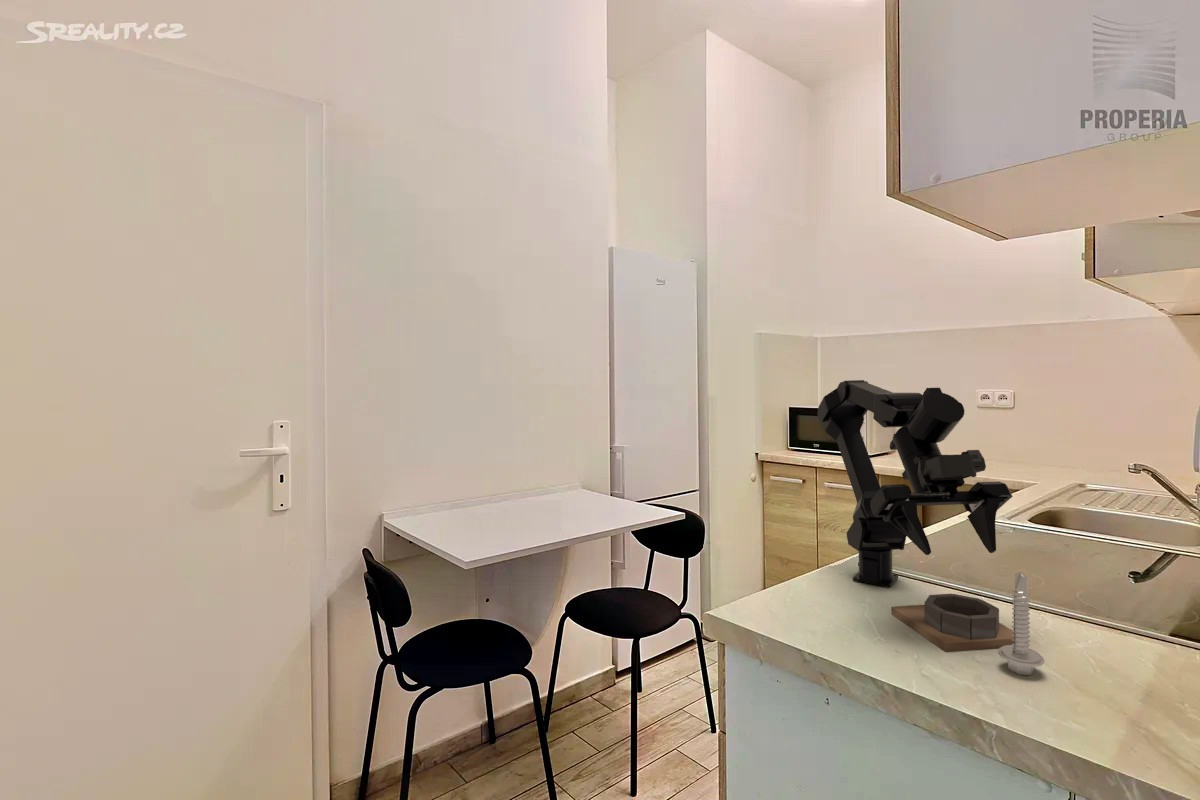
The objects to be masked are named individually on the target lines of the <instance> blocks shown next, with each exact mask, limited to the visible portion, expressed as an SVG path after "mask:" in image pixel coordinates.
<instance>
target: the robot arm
mask: <svg viewBox="0 0 1200 800" xmlns="http://www.w3.org/2000/svg"><path fill="white" fill-rule="evenodd" d="M868 411H869V412H871V413H873V420H874V421H875V422H877V424H879V425H880V426H881V428H899V429H898V430H897V431H896V432H895V433H894V434H892V435H893V436H892V439H891V441H890V443H889V450H891V451H892V450H893V451H895V450H896V451H897V454H898V456H899V458H900V461H901V463H902V467H903V468H904V470H903V472H902V474H901V477H902V478H903V480H908V482H909V483H910V486H911V487H910V486H909V485H907V484H905V483H904V484H899V483H898V484H882V486H881V484H880V481H879V479H878V476H877V474H876V471H875V469H874V466H873V462H872V461H871V460H872V459H871V458H870V454H869V452H868V449H867V447H866V443H865V441H864V439H863V435H862V433H861V429H862V426H863V424H864V421H865V415H866V414H867V412H868ZM964 415H965V408H964V405H963V403H962V402H960V401H959V400H958V399H956V398H955V397H953V396H952V395H950V394H947V393H945V392H943V391H942V389H941V387H926V388H925V389H924V392H923V393H920V392H893V391H890V390H887V389H885V388H882V387H879V386H877V385H874V384H871V383H869V382H868V381H867V380H864V379H858V380H857V379H856V380H855V379H854V380H853V379H852V380H843V381H841V382H839V384H838V386H837V387H836V388H835V389H833V390H831V391H830V392H829V393H827V394H825V395H824V396H823V398H822V399H821V401H820V404H819V405H818V407H817V418H818V421H819V422H820V423H821V425H822V428H823V430H824V432H825V433H826V434H827V435H828V436H829V437H831V438H832V439H834V440H835V441H836V442H837V443H836V444H837V447H838V449H839V452H840V455H841V458H842V461H843V464H844V467H845V470H846V473H847V476H848V480H849V483H850V485H851V488H852V491H853V494H854V497H855V500H856V506H855V508H854V512H853V514H852V520H853V522H852V523H851V525H850V526H849V528H848V530H847V531H846V540H847V544H848V546H850V547H852V548H853V549H854V550H856V551H858V572H857V573H855V574H854V575H853V577H852V580H853V581H854V582H855V581H856V582H860V583H863V584H864V583H865V584H870V585H875V586H880V587H886V588H890V587H891V588H892V585H893V584H894V583H895V582H896V581H897V580H898V578H899V575H898V574H895V573H893V550H894V551H895V550H896V551H897V550H900V551H903V550H904V549H905V545H906V539H907V538H908V539H909V540H910V541H911V542H912V543H913V544H914V545H915V546H916V547H917V548H918V549H919V550H920V551H921V552H922V553H923V554H924V555H925V556H929V555H930V554H931V553H932V550H931V545H930V542H929V540H928V537H927V535H926V533H925V530H924V527H923V525H922V523H921V520H920V518H919V516H918V506H947V505H953V506H954V505H963V507H964V509H965V511H967V512H969V513H970V514H968V515H967V519H968V520H969V522H970V524H971V525H972V527H973V530H974V531H975V533H976V534H977V535H978V538H979V539H980V542H982V545H983V547H985V549H986V550H987V551H988V553H990V554H994V553H995V552H997V540H996V539H997V538H996V537H997V536H996V534H997V533H996V517H997V511H998V510H999V509H1000V508H1002V507H1003V506H1004V505H1005V504H1006V503H1007V502H1008V501H1010V499H1012V498H1013V494H1012V492H1011V490H1010V488H1009V487H1008V485H1007V484H1006V483H1004V482H1001V481H977V482H976V483H975V484H974V485H973V486H971V488H970V489H968V490H964V491H963V490H962V491H961V490H960V491H959V490H958V487H962V486H964V484H965V483H966V482H965V479H967V478H976V477H977V474H978V473H981V472H984V471H985V470H986V468H987V465H986V461H985V458H984V456H983V455H982V453H981V451H980V449H967V450H966V451H962V452H961V454H942V452H941V450H940V447H939V445H938V443H941V442H943V441H945V440H946V438H947V437H948V435H950V434H951V432H952V431H953V430H954V429H955V428H956V426H957V425H958V424H959V423H960V421H961V420H962V419H963V418H964ZM912 491H913V492H912Z"/></svg>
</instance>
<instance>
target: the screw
mask: <svg viewBox="0 0 1200 800" xmlns="http://www.w3.org/2000/svg"><path fill="white" fill-rule="evenodd" d="M1012 592H1013V594H1012V597H1013V598H1012V599H1011V600H1012V601H1013V603H1012V604H1011V605H1012V606H1013V607H1012V608H1011V609H1012V610H1013V612H1012V613H1011V614H1012V615H1013V616H1011V619H1013V621H1011V623H1012V624H1013V625H1011V628H1013V629H1011V630H1012V632H1014V634H1013V635H1012V636H1013V637H1014V639H1012V641H1014V643H1013V644H1012V645H1005V646H1003V647H1001V648H997V649H998V651H997V653H998V655H999V657H1000V658H1002V659H1003V660H1005V661H1006V662H1007V669H1008V670H1009V671H1010V672H1013V673H1015V674H1017V675H1020V676H1021V675H1022V676H1023V675H1024V676H1031V675H1032V674H1033V673H1034V667H1040V666H1043V665H1044V664H1045V658H1044V656H1043V655H1041V653H1039V652H1038V651H1036V650H1034V649H1033V648H1032V649H1031V648H1030V646H1031V645H1030V639H1029V638H1030V636H1031V635H1030V633H1031V631H1030V630H1029V629H1030V625H1029V624H1031V623H1030V621H1029V620H1030V619H1031V617H1030V615H1031V613H1030V612H1029V611H1030V608H1029V607H1030V606H1031V605H1030V603H1029V602H1030V601H1031V600H1030V598H1029V597H1030V594H1029V593H1028V576H1027V575H1026V574H1024V573H1023V572H1021V571H1020V572H1017V573H1014V589H1013V590H1012Z"/></svg>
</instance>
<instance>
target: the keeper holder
mask: <svg viewBox="0 0 1200 800" xmlns="http://www.w3.org/2000/svg"><path fill="white" fill-rule="evenodd" d="M890 609H891V610H890V611H891V615H892V616H894V617H895V618H896V619H898V620H899V621H901V622H902V623H904V624H905V625H907V626H908V627H909V628H911V629H912V630H914V631H915V632H917V633H918V634H920V635H921V636H922V637H924V638H925V639H927V640H928V641H929V642H931V643H932V644H934V645H935V646H937V647H938V648H939V649H941V650H942V651H944V652H945V653H947V652H949V653H950V652H962V651H963V652H964V651H975V650H989V649H990V650H991V649H999V648H1001V647H1003V646H1005V645H1012V644H1013V643H1014V641H1012V639H1014V637H1013V636H1012V635H1013V634H1014V632H1012V630H1013V629H1011V628H1009V627H1007V626H1006V625H1004V624H1002V623H1000V609H999V608H998V607H997V606H995V605H993V604H991V603H989V602H987V601H985V600H983V599H981V598H977V597H972V596H968V595H961V594H957V593H940V594H938V593H937V594H930V595H928V596H927V597H926V599H925V601H924V604H914V605H910V604H909V605H898V606H894V605H893V606H891V607H890Z"/></svg>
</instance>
